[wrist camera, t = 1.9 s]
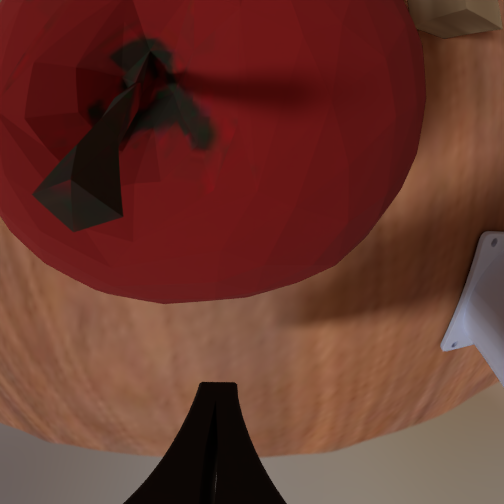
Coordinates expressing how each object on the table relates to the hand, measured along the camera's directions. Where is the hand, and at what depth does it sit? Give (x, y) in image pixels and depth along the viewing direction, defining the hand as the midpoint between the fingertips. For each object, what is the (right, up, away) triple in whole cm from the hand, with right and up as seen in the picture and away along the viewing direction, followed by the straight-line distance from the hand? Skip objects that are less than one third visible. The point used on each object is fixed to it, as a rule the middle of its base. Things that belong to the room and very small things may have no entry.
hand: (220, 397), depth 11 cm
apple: (0, +11, -1) cm, 11 cm away
